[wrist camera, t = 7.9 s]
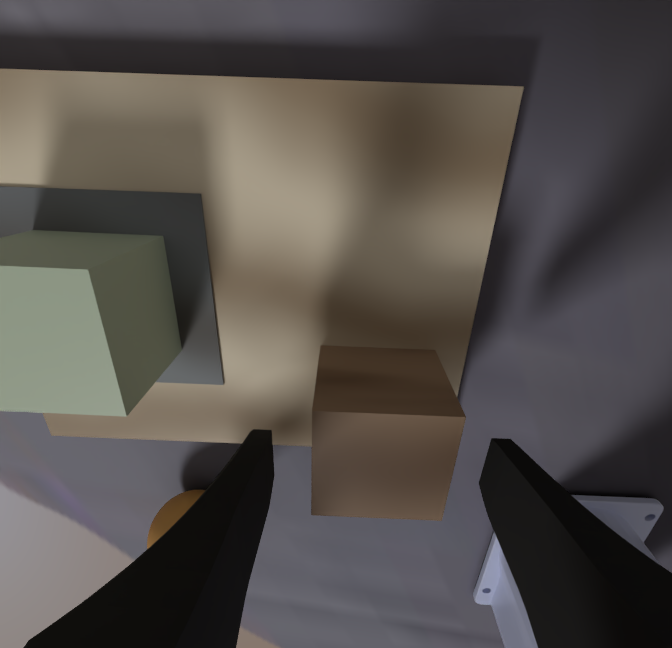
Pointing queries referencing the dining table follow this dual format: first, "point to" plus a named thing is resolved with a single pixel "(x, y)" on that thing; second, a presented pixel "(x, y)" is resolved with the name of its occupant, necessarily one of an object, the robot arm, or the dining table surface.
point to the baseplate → (266, 223)
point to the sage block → (83, 321)
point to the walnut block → (383, 433)
